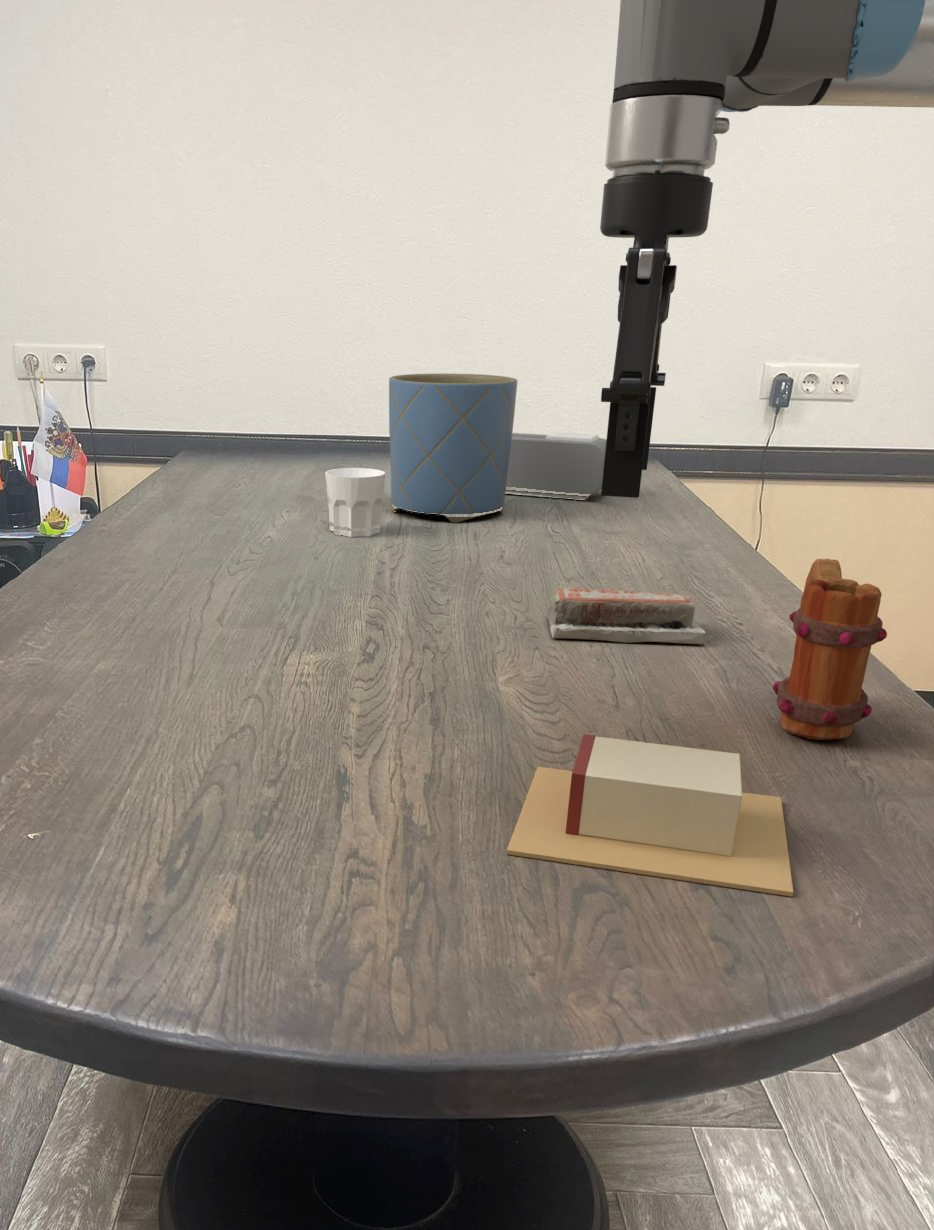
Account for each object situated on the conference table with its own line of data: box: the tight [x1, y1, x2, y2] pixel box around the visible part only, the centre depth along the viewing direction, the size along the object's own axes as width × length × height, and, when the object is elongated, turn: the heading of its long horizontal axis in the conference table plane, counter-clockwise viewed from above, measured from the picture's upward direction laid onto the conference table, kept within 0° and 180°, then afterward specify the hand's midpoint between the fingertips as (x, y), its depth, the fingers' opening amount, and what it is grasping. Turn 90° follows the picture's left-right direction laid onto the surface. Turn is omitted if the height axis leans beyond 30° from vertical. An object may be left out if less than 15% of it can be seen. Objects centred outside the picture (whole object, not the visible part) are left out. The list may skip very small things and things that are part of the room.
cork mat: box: [506, 766, 794, 898], centre depth 84 cm, size 20×16×1 cm
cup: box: [324, 467, 386, 538], centre depth 182 cm, size 10×10×10 cm
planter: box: [388, 373, 518, 523], centre depth 196 cm, size 23×23×24 cm
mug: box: [772, 558, 888, 741], centre depth 102 cm, size 15×8×15 cm, turn 170°
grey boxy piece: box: [547, 587, 707, 645], centre depth 131 cm, size 18×5×10 cm
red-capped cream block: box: [566, 733, 743, 856], centre depth 83 cm, size 8×12×5 cm
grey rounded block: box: [505, 431, 607, 501], centre depth 217 cm, size 27×9×12 cm, turn 66°
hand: (625, 482), depth 85 cm, fingers open, 13 cm apart
